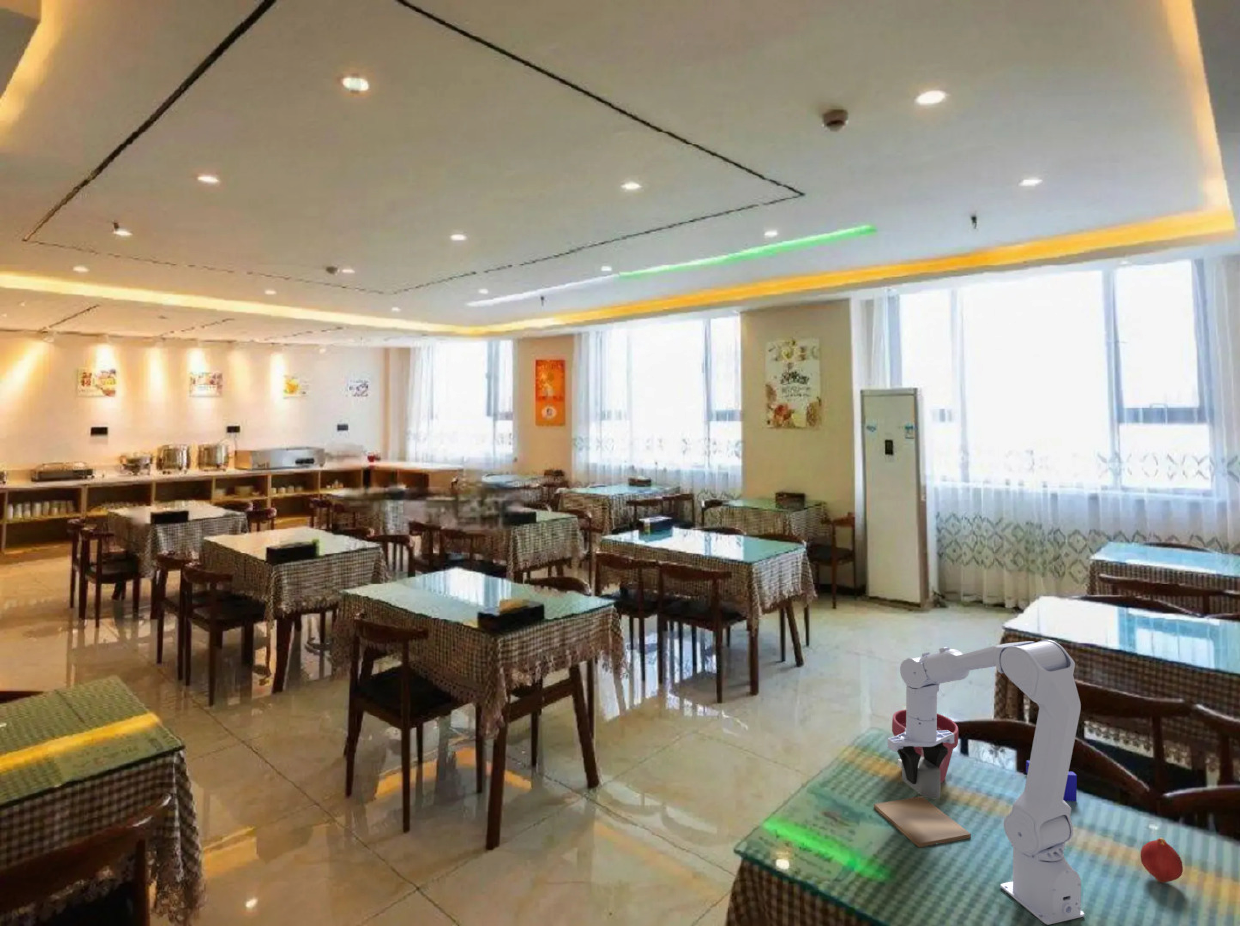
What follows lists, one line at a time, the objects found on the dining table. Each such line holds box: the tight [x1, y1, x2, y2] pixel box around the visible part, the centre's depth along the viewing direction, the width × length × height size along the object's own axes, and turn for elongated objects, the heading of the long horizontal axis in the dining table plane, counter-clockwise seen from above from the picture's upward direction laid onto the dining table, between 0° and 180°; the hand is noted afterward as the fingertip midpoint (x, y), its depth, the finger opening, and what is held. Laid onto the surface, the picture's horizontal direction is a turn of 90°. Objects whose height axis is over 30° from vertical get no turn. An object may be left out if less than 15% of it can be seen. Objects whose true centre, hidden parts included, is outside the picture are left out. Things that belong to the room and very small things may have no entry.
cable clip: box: [1025, 759, 1078, 802], centre depth 146 cm, size 12×4×6 cm, turn 174°
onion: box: [1140, 837, 1184, 884], centre depth 115 cm, size 6×6×8 cm
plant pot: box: [891, 709, 959, 784], centre depth 152 cm, size 14×14×13 cm
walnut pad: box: [873, 795, 972, 848], centre depth 133 cm, size 14×12×1 cm
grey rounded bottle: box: [897, 756, 941, 799], centre depth 133 cm, size 10×4×5 cm, turn 14°
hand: (920, 779), depth 133 cm, fingers closed on grey rounded bottle, 4 cm apart
